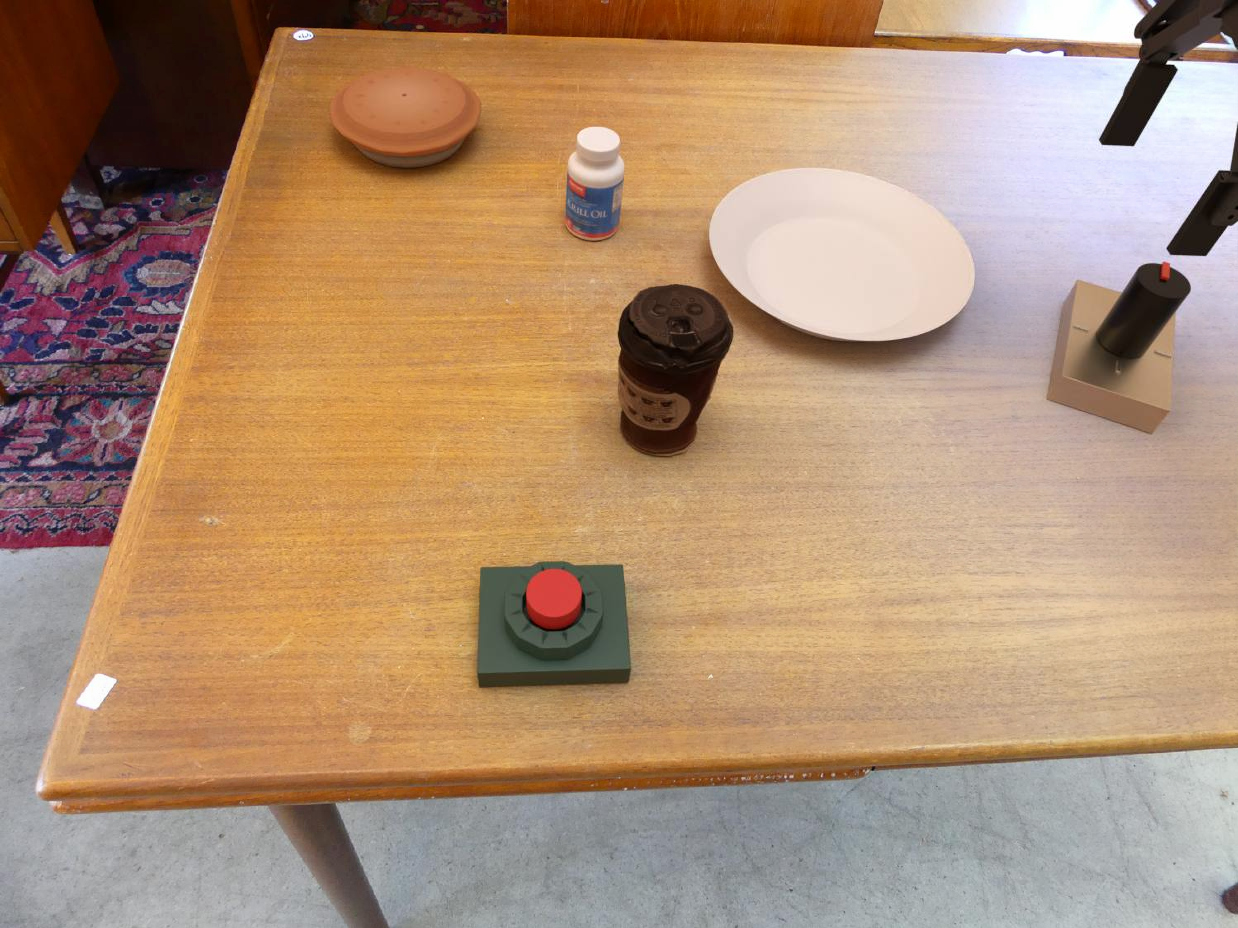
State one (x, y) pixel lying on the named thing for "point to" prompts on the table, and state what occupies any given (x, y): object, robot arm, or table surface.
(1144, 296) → the hob knob
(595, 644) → the button box
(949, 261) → the white plate
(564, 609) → the button
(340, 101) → the pie
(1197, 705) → the table surface
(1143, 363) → the panel
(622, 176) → the pill bottle
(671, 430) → the coffee cup
